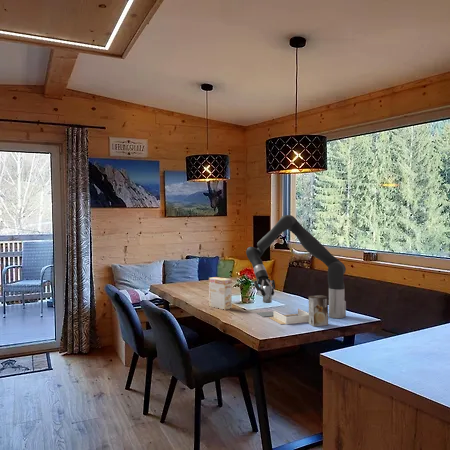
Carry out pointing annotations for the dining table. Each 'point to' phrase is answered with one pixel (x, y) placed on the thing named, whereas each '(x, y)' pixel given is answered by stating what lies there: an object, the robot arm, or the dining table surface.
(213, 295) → the coffeecake box
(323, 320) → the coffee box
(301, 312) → the white rectangular tray
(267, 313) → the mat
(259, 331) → the dining table surface
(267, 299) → the tin can
